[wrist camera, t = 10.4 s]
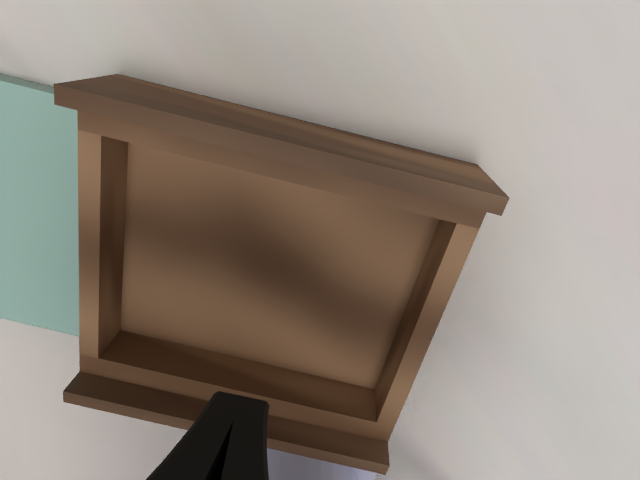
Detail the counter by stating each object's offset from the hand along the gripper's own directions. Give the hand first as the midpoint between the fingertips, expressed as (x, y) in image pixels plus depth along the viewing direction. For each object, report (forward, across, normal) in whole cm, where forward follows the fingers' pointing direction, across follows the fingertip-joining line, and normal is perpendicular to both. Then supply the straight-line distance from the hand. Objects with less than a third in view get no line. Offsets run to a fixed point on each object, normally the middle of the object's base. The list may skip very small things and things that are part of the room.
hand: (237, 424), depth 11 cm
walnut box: (+9, +1, 0) cm, 9 cm away
